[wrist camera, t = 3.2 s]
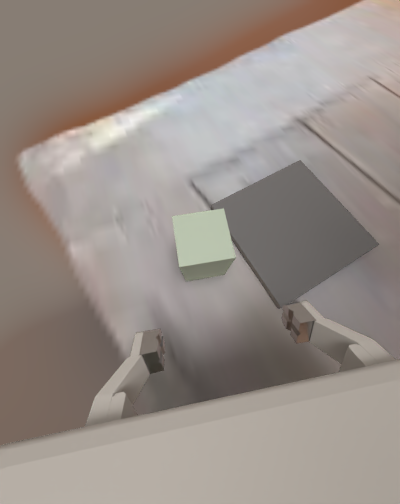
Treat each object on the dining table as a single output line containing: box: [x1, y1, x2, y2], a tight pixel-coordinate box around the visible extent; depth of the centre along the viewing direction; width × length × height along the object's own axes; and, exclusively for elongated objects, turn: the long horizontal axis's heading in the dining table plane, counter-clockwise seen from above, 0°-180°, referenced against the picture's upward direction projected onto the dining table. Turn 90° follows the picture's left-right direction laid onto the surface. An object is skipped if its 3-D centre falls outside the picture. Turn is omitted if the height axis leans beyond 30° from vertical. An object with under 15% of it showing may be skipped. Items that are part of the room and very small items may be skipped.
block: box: [172, 208, 236, 281], centre depth 20 cm, size 5×5×8 cm
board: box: [211, 160, 379, 308], centre depth 25 cm, size 16×16×1 cm
